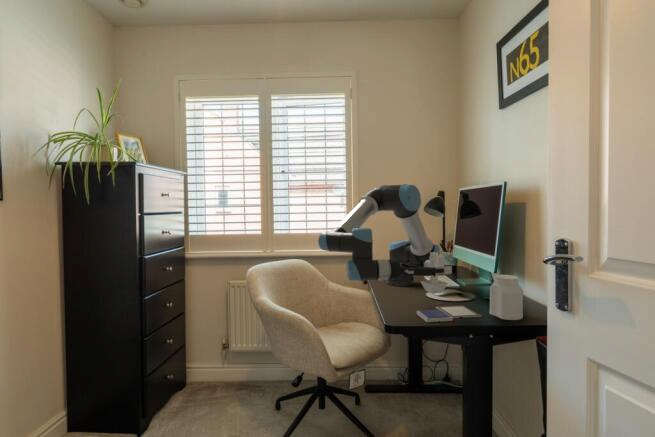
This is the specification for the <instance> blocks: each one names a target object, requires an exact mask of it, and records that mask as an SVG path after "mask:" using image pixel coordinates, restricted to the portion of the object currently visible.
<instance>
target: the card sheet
mask: <svg viewBox="0 0 655 437" xmlns="http://www.w3.org/2000/svg"><path fill="white" fill-rule="evenodd" d="M435 309H437V310H442V311H444V312H445V313H447V314H448V315H450V316H451V317H453V319H460V318H459V317H463V318H477V317H479V318H480V317H481V318H482V316H483V315H482V314H480V313H478V312H476V311H474V310H472V309H471V308H469V307H467V306H465V305H463V304H458V305H440V306H436V307H435Z"/></svg>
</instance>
